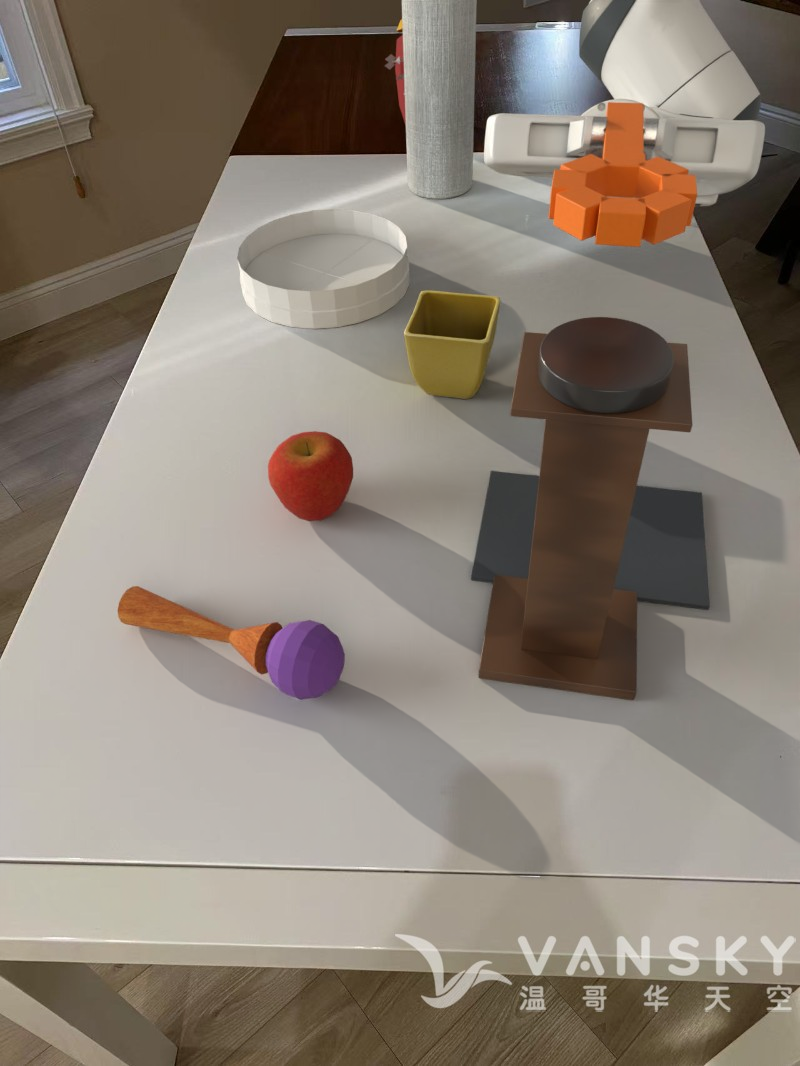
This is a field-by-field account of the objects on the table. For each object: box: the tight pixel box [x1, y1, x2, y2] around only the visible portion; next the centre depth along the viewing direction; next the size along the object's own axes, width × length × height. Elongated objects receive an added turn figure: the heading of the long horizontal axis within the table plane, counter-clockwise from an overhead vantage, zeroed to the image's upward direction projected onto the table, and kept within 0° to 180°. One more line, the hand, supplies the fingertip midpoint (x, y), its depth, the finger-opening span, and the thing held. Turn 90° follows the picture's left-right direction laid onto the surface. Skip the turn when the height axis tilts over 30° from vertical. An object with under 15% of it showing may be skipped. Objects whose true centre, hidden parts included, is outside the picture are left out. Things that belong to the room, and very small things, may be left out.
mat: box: [470, 470, 711, 611], centre depth 75 cm, size 20×14×1 cm
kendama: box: [117, 585, 346, 700], centre depth 66 cm, size 6×6×20 cm
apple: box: [267, 430, 354, 522], centre depth 77 cm, size 8×8×8 cm
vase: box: [401, 0, 478, 200], centre depth 118 cm, size 10×10×27 cm
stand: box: [478, 316, 693, 701], centre depth 58 cm, size 12×10×28 cm
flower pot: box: [403, 290, 502, 400], centre depth 89 cm, size 9×9×9 cm
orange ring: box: [548, 102, 697, 248], centre depth 53 cm, size 8×18×2 cm, turn 169°
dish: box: [236, 208, 411, 330], centre depth 107 cm, size 22×22×5 cm
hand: (624, 130), depth 56 cm, fingers closed on orange ring, 2 cm apart
